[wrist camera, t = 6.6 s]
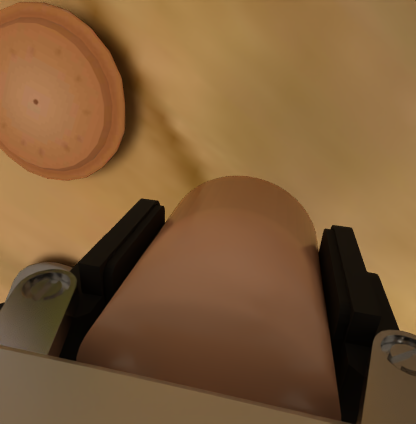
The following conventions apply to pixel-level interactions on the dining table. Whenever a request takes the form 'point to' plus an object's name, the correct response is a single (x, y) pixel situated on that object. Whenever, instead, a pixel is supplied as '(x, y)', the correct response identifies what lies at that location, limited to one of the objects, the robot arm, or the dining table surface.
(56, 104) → the pie
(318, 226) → the dining table surface
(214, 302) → the pink rounded piece
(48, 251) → the dining table surface
